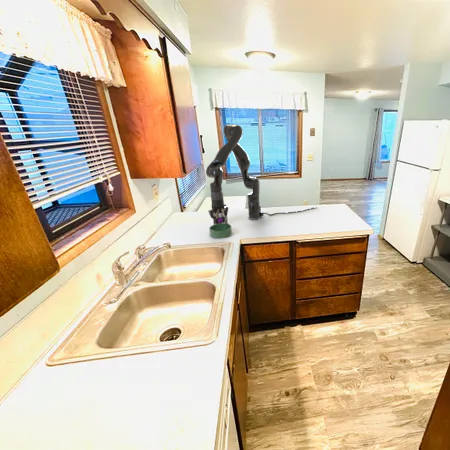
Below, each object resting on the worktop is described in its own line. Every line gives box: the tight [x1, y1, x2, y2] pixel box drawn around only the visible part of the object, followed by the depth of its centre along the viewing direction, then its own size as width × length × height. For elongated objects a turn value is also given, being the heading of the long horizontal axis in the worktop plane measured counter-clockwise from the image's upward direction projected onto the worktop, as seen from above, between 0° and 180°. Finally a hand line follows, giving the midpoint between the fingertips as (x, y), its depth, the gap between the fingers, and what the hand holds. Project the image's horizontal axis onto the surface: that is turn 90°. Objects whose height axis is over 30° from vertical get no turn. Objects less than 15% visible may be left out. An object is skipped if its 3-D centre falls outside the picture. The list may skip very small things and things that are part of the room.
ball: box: [217, 217, 223, 224], centre depth 160 cm, size 4×4×4 cm
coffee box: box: [212, 203, 229, 225], centre depth 178 cm, size 9×6×16 cm
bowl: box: [208, 223, 233, 239], centre depth 162 cm, size 14×14×6 cm
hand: (219, 222), depth 160 cm, fingers closed on ball, 4 cm apart
